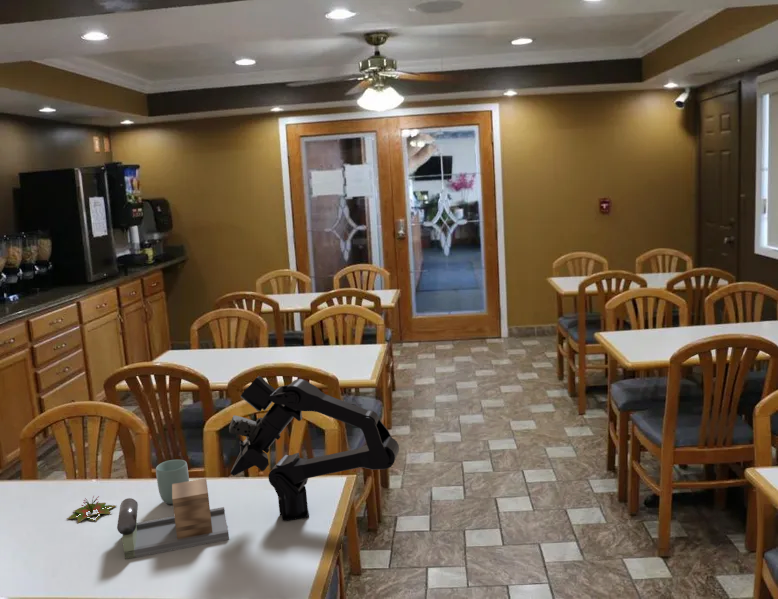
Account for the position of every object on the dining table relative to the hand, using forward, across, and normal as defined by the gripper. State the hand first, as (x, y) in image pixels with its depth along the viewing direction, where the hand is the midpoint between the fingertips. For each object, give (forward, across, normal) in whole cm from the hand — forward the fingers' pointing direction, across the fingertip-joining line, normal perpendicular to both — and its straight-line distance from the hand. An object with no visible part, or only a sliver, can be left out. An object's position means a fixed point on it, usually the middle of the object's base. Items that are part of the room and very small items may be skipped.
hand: (232, 474), depth 178 cm
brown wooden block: (+15, +1, +1) cm, 15 cm away
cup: (+20, -18, -2) cm, 27 cm away
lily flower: (+35, -19, -17) cm, 43 cm away
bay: (+19, +2, -1) cm, 19 cm away
